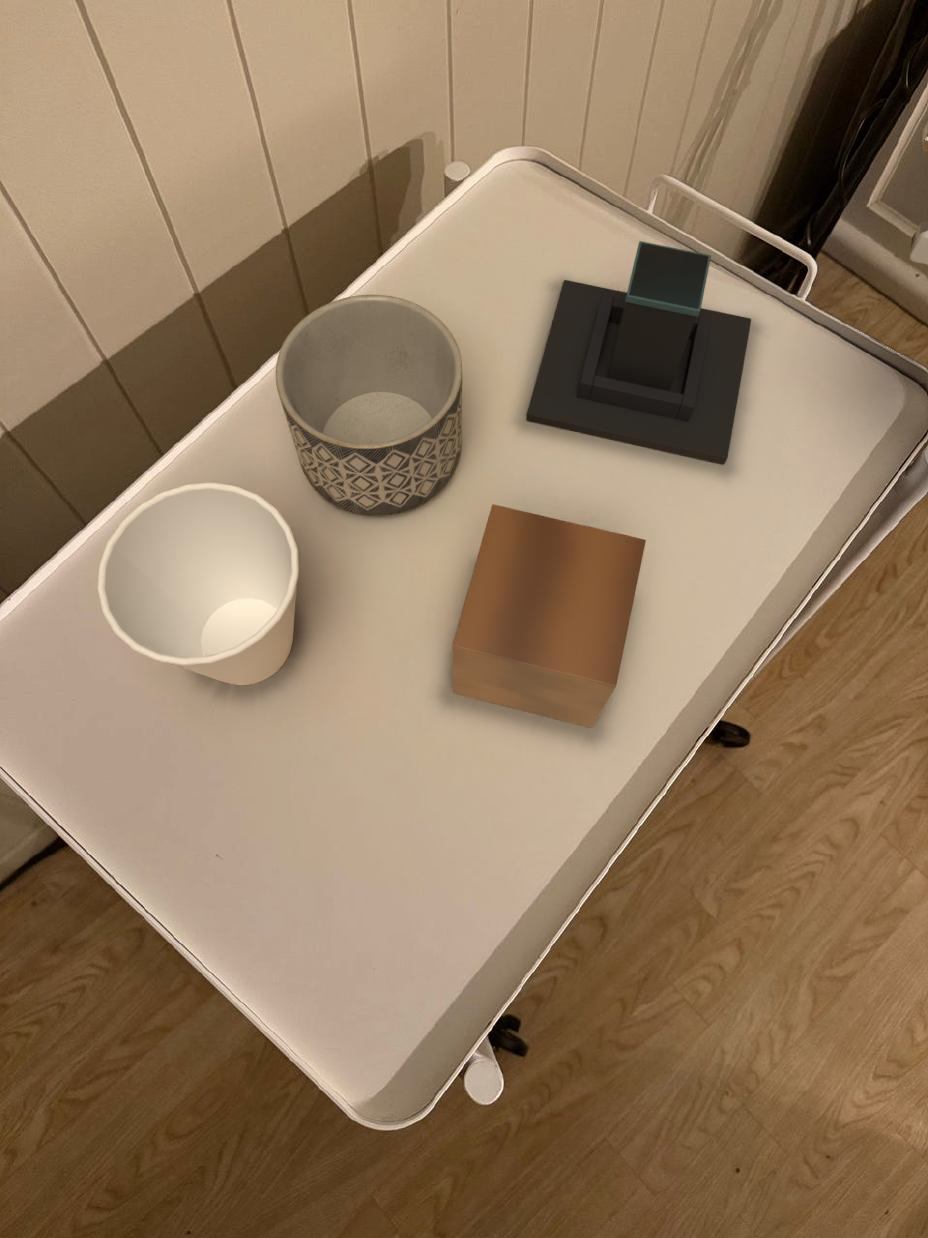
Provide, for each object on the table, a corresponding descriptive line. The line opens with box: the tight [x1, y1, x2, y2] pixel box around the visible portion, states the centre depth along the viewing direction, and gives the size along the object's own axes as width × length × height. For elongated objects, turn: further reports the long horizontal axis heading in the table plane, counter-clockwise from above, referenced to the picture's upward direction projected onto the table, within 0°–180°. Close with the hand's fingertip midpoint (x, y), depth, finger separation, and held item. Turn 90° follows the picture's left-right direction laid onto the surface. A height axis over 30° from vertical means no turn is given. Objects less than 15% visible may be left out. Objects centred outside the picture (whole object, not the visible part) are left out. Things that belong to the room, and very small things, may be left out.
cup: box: [97, 481, 300, 686], centre depth 57 cm, size 12×12×12 cm
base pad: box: [525, 279, 752, 465], centre depth 70 cm, size 16×14×3 cm
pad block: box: [607, 240, 712, 391], centre depth 66 cm, size 5×5×10 cm
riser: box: [452, 503, 647, 729], centre depth 58 cm, size 10×10×10 cm
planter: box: [275, 294, 463, 516], centre depth 64 cm, size 13×13×10 cm
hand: (920, 181), depth 51 cm, fingers open, 8 cm apart
